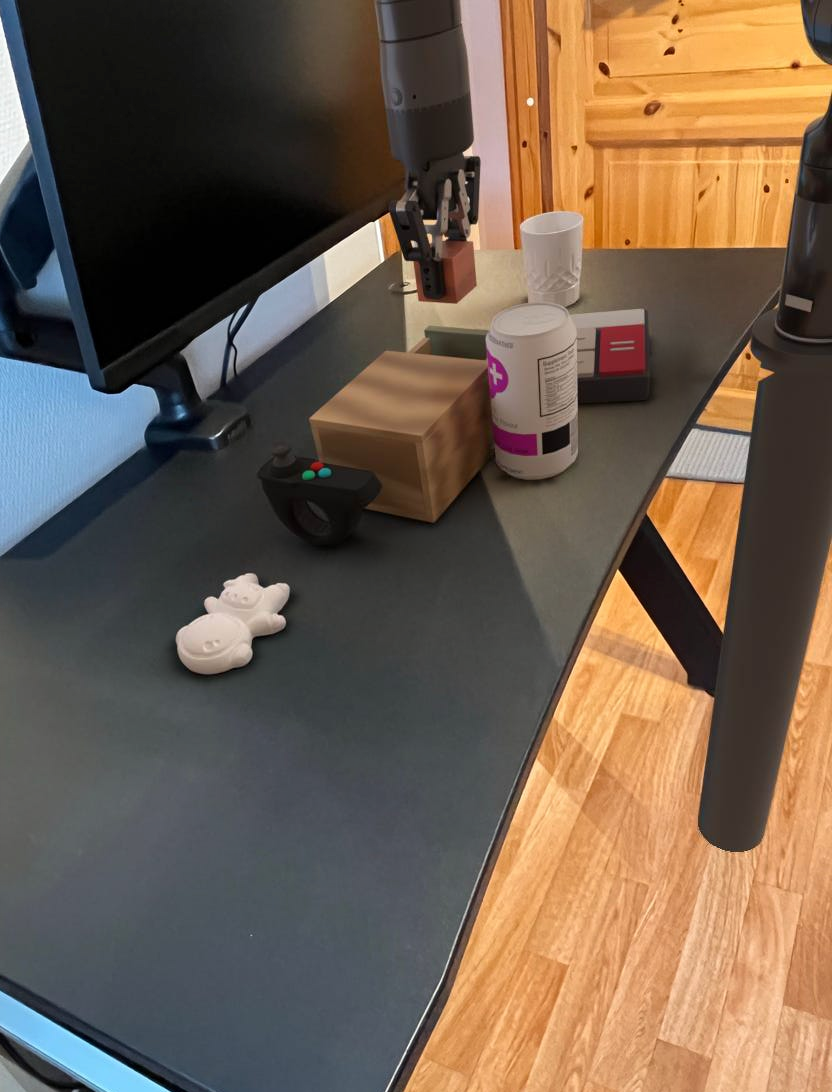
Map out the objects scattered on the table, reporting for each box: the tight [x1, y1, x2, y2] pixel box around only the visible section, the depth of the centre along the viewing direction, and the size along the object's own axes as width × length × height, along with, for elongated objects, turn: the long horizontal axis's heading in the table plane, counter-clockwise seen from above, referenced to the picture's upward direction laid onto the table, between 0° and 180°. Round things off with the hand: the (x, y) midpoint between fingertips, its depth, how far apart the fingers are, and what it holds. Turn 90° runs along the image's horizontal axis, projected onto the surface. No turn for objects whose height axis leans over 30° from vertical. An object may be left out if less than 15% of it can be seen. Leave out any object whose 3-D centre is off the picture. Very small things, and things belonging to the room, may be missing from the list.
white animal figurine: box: [175, 572, 291, 675], centre depth 77 cm, size 9×12×3 cm
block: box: [412, 240, 478, 305], centre depth 86 cm, size 4×4×4 cm
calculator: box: [569, 308, 651, 405], centre depth 99 cm, size 11×4×15 cm
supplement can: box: [486, 302, 579, 481], centre depth 84 cm, size 8×8×15 cm
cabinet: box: [308, 350, 495, 524], centre depth 88 cm, size 15×13×10 cm
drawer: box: [407, 324, 489, 361], centre depth 94 cm, size 18×11×8 cm, turn 147°
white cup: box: [519, 210, 584, 308], centre depth 114 cm, size 8×8×10 cm
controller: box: [256, 441, 382, 547], centre depth 82 cm, size 4×12×10 cm, turn 59°
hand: (447, 286), depth 87 cm, fingers closed on block, 4 cm apart
